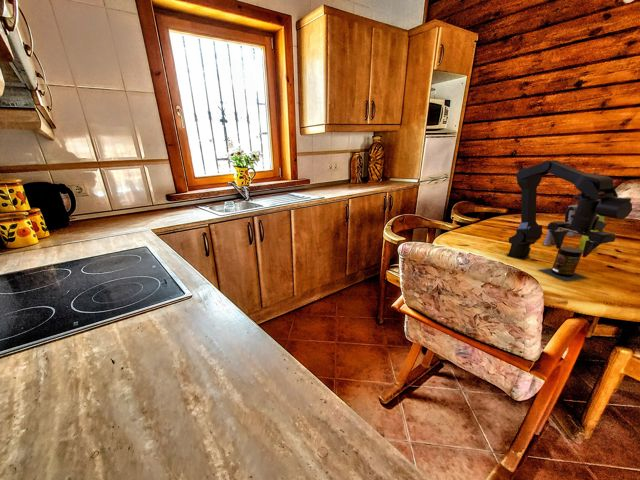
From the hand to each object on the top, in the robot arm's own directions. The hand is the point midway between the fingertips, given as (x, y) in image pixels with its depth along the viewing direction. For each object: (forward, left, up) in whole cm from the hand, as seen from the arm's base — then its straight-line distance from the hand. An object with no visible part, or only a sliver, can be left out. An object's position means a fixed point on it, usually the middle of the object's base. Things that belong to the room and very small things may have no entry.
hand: (570, 252), depth 106 cm
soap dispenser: (+2, +41, -9) cm, 42 cm away
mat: (0, 0, -9) cm, 9 cm away
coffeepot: (-7, +62, -9) cm, 63 cm away
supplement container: (0, 0, -9) cm, 9 cm away
